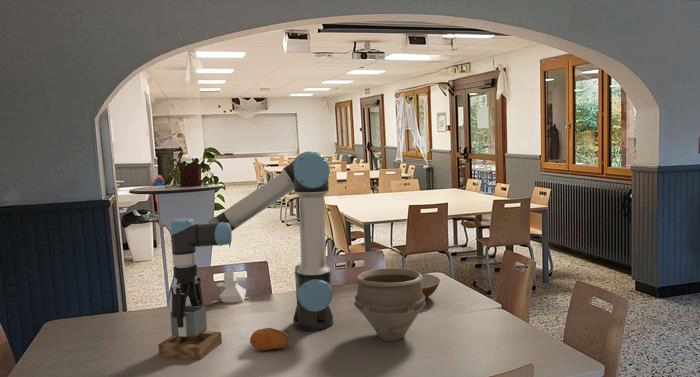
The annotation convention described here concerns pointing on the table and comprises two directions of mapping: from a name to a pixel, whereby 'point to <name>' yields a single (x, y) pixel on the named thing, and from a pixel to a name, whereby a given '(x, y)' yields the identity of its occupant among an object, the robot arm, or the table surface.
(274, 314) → the table surface
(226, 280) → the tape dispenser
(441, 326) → the table surface
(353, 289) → the table surface
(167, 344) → the walnut crate
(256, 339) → the potato
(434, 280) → the bowl
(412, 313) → the planter
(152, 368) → the table surface
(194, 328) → the grey open box
